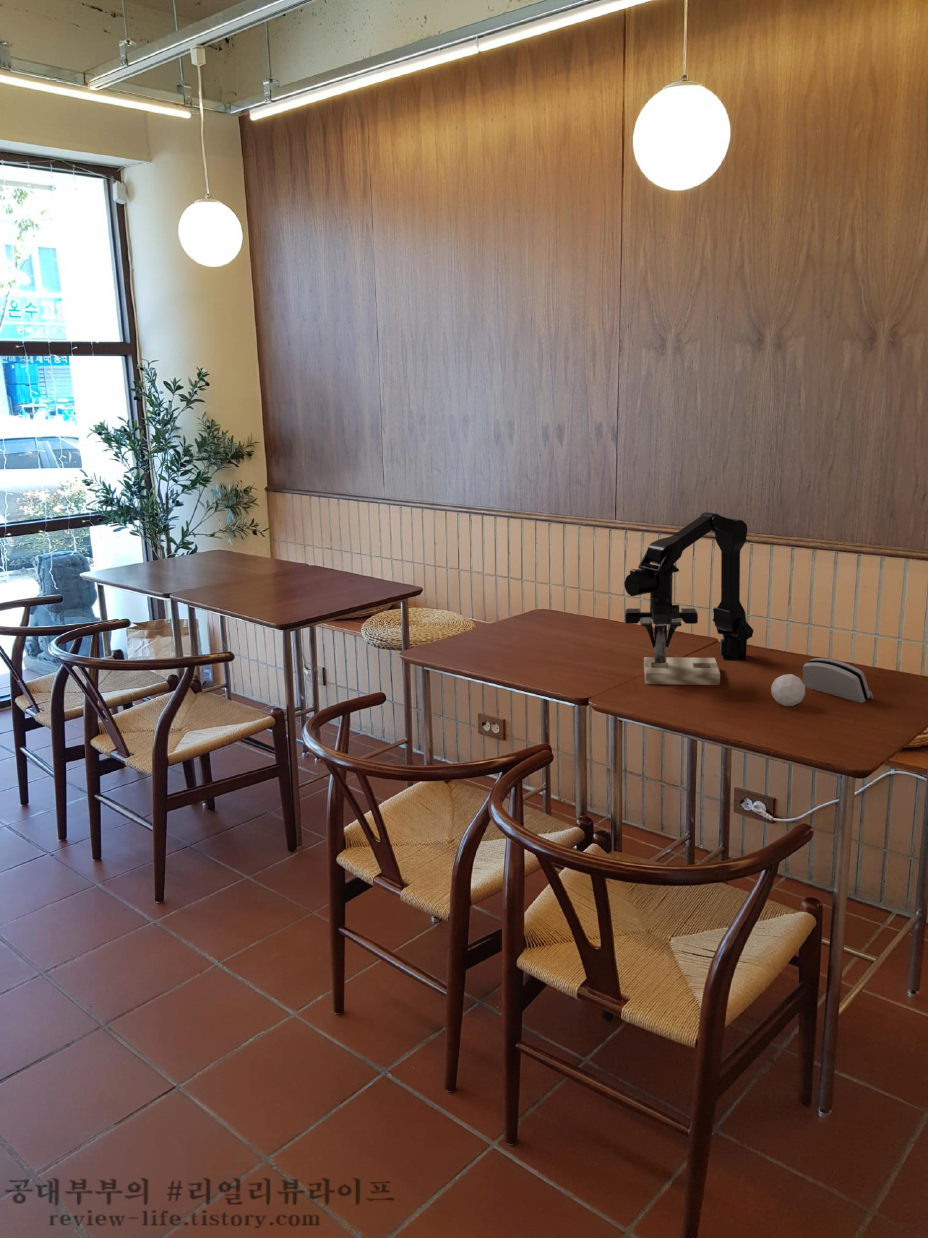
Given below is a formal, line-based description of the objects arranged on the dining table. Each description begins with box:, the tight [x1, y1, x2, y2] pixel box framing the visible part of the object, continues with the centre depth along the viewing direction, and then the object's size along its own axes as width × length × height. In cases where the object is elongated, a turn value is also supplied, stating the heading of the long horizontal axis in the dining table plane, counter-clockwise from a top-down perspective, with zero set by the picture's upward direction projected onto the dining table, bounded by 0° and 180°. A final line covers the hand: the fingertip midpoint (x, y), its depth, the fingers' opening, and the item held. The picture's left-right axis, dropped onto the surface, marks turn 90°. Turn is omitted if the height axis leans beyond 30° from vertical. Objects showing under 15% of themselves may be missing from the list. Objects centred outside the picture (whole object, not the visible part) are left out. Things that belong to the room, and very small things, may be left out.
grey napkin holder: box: [802, 657, 874, 704], centre depth 233 cm, size 17×5×10 cm, turn 36°
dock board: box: [643, 656, 721, 686], centre depth 251 cm, size 19×14×3 cm
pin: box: [653, 624, 668, 663], centre depth 250 cm, size 3×3×10 cm
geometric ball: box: [770, 673, 806, 707], centre depth 226 cm, size 8×8×8 cm
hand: (660, 647), depth 250 cm, fingers closed on pin, 3 cm apart
